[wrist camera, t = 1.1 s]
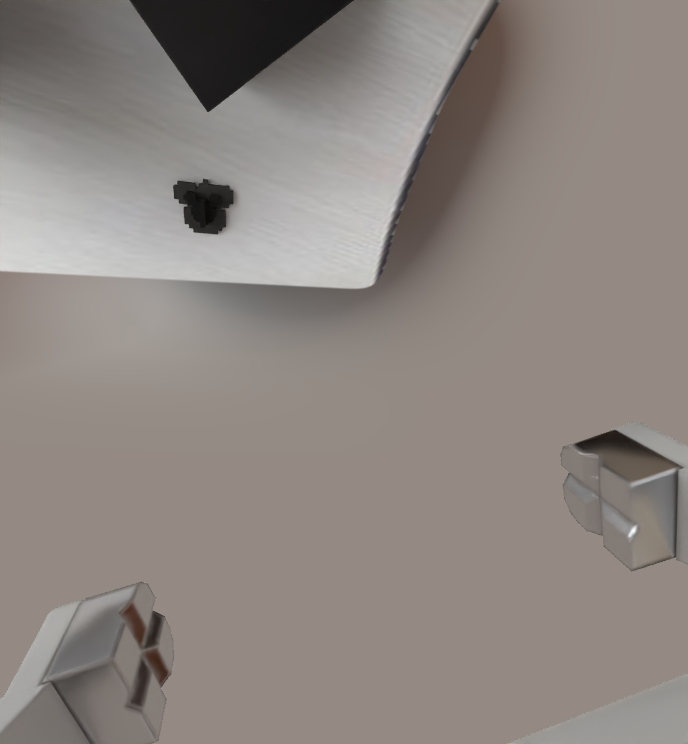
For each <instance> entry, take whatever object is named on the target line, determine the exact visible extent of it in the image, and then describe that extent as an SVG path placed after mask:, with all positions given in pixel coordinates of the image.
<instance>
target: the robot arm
mask: <svg viewBox="0 0 688 744" xmlns="http://www.w3.org/2000/svg"><path fill="white" fill-rule="evenodd" d="M561 466H562V467H564V468H565V469H566V470H567V471H568V472H569V474H568V476H567V478H566V479H565V481H564V483H563V490H564V498H565V501H566V503H567V505H568V508H569V510H570V512H571V514H572V515H573V517H574V518H575V519H576V521H577V522H578V523H579V524H580V525H581V526H582V527H583V528H584V529H585V530H586V531H589V532H592V533H595V534H598V535H602V536H603V544H604V547H605V548H606V549H607V550H608V551H609V552H611V553H612V554H613V555H614V556H615V557H616V558H617V559H618V560H619V561H621V562H622V563H623V564H624V565H625V566H626V567H627V568H628V569H629V570H630V571H635V570H638V569H641V568H644V567H647V566H650V565H653V564H656V563H660V562H663V561H665V560H669V559H671V558H675V557H676V560H678V561H681V562H683V563H685V564H688V446H686V445H684V444H682V443H680V442H678V441H676V440H674V439H672V438H670V437H668V436H666V435H664V434H662V433H660V432H658V431H656V430H654V429H652V428H650V427H648V426H646V425H644V424H642V423H634V422H632V423H629V424H626V425H624V426H621V427H618V428H615V429H612V430H610V431H609V432H606V433H603V434H601V435H597V436H594V437H591V438H588V439H585V440H582V441H579V442H576V443H573V444H570V445H567V446H564V447H563V448H562V451H561ZM154 602H155V596H154V595H153V592H152V591H151V589H150V587H149V585H148V584H147V583H144V582H139V583H135V584H132V585H129V586H126V587H122V588H119V589H115V590H113V591H109V592H105V593H102V594H99V595H95V596H92V597H89V598H86V599H84V600H79V601H76V602H73V603H70V604H66V605H64V606H60V607H57V608H56V609H54V610H53V611H52V612H50V613H49V614H48V616H47V618H46V620H45V622H44V623H43V625H42V627H41V629H40V631H39V633H38V635H37V636H36V638H35V640H34V642H33V644H32V646H31V648H30V650H29V651H28V653H27V655H26V657H25V659H24V661H23V663H22V664H21V666H20V668H19V670H18V672H17V674H16V675H15V677H14V679H13V681H12V683H11V685H10V687H9V689H8V690H7V692H6V694H5V696H4V698H1V699H0V744H152V743H154V742H157V741H158V740H159V735H160V730H161V725H162V720H163V714H164V709H165V704H166V697H165V695H164V693H163V691H162V690H161V687H162V686H163V684H164V683H165V681H166V680H167V679H168V677H169V676H170V675H171V672H172V666H173V660H174V650H173V638H172V634H171V630H170V627H169V625H168V622H167V620H166V618H165V616H163V615H161V614H159V613H157V612H155V611H153V606H154ZM508 744H688V673H687V674H684V675H682V676H679V677H677V678H674V679H671V680H669V681H667V682H664V683H661V684H659V685H656V686H654V687H651V688H648V689H646V690H643V691H641V692H638V693H636V694H633V695H631V696H628V697H625V698H623V699H620V700H618V701H615V702H613V703H610V704H607V705H605V706H602V707H600V708H598V709H595V710H592V711H590V712H587V713H584V714H582V715H579V716H577V717H574V718H572V719H569V720H567V721H564V722H562V723H559V724H557V725H554V726H551V727H549V728H546V729H544V730H541V731H538V732H536V733H534V734H531V735H528V736H526V737H523V738H520V739H518V740H515V741H513V742H511V743H508Z"/></svg>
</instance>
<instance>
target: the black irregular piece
mask: <svg viewBox="0 0 688 744" xmlns="http://www.w3.org/2000/svg"><path fill="white" fill-rule="evenodd" d="M173 189H174V199H179V203H180V204H187V205H188V207H184V219H185V224H189V228H193V230H194V232H196V233H208V234H218V231H222V227H226V214H225V210H221V207H223V208H229V204H233V191H230V190H229V186H222V185H212V184H208V180H204V179H203V184H202V183H199V187H195V183H192V182H182V181H178V182H177V185H174V186H173Z"/></svg>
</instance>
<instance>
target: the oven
mask: <svg viewBox="0 0 688 744" xmlns="http://www.w3.org/2000/svg"><path fill="white" fill-rule="evenodd" d="M352 1H354V0H130V2H131V3H132V5H133V6H134V8H135V9H136V10H137V12H138V13H139V15H140V16H141V18H142V19H143V20H144V22H145V23H146V25H147V26H148V28H149V29H150V30H151V32H152V33H153V35H154V36H155V38H156V39H157V40H158V42H159V43H160V45H161V46H162V48H163V49H164V50H165V52H166V53H167V55H168V56H169V58H170V59H171V60H172V62H173V63H174V65H175V66H176V68H177V69H178V70H179V72H180V73H181V75H182V76H183V78H184V79H185V80H186V82H187V83H188V85H189V86H190V88H191V89H192V90H193V92H194V93H195V95H196V96H197V98H198V99H199V101H200V102H201V103H202V105H203V106H204V108H205V109H206V111H207V112H209V111H211V110H212V109H213V108H215V107H216V106H217V105H219V104H220V103H221V102H222V101H224V100H225V99H226V98H228V97H229V96H230V95H232V94H233V93H234V92H235V91H237V90H238V89H239V88H241V87H242V86H243V85H245V84H246V83H247V82H248V81H250V80H251V79H252V78H254V77H255V76H256V75H258V74H259V73H260V72H261V71H263V70H264V69H265V68H267V67H268V66H269V65H271V64H272V63H273V62H274V61H276V60H277V59H278V58H280V57H281V56H282V55H284V54H285V53H286V52H287V51H289V50H290V49H291V48H293V47H294V46H295V45H297V44H298V43H299V42H300V41H302V40H303V39H304V38H306V37H307V36H308V35H310V34H311V33H312V32H313V31H315V30H316V29H317V28H319V27H320V26H321V25H323V24H324V23H325V22H326V21H328V20H329V19H330V18H332V17H333V16H334V15H336V14H337V13H338V12H339V11H341V10H342V9H343V8H345V7H346V6H347V5H349V4H350V3H351V2H352Z"/></svg>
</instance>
